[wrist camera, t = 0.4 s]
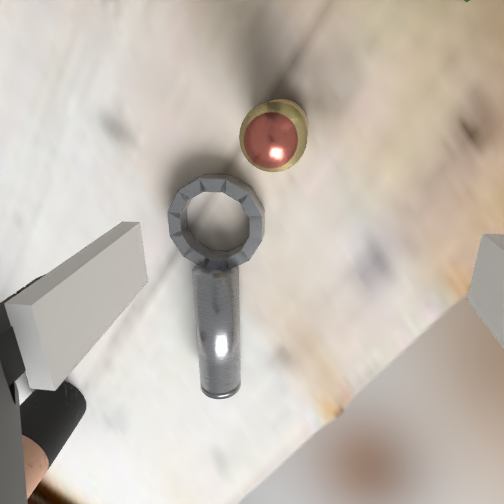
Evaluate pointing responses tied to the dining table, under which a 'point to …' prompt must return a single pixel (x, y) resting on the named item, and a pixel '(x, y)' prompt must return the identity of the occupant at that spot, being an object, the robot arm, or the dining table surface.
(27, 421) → the travel mug
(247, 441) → the dining table surface
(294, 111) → the yellow jar pink lid
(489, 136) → the dining table surface
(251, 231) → the grey ring-headed tool
